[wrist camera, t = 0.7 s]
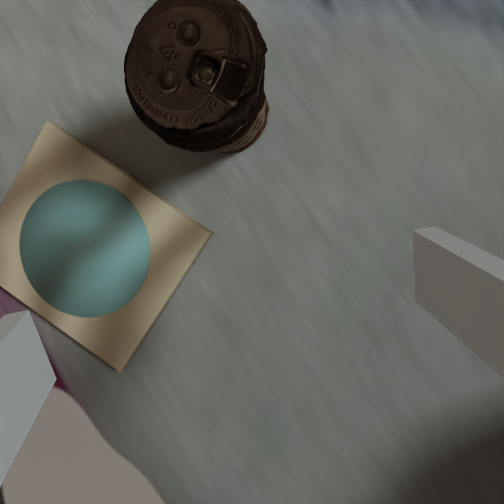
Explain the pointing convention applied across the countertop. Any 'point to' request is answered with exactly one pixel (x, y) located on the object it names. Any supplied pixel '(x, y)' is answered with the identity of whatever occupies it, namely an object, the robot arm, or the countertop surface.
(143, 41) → the coffee cup
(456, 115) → the countertop surface
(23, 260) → the oak board
